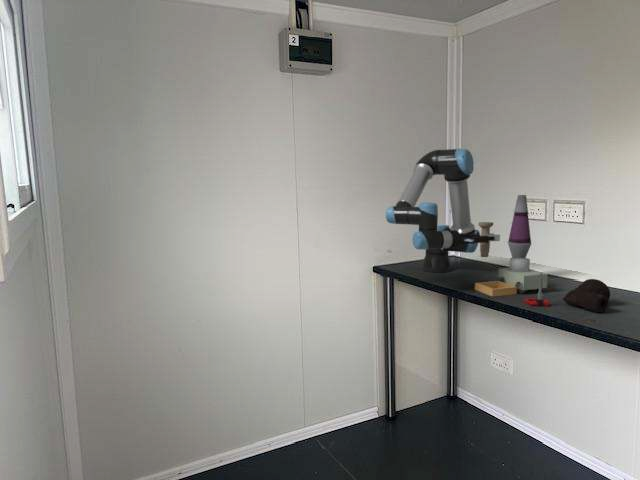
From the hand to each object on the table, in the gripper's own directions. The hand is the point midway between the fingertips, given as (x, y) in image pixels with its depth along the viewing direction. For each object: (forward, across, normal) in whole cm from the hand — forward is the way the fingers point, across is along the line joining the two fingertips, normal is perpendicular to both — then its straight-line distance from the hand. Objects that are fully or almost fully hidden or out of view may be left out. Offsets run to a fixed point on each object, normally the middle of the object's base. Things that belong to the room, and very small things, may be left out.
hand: (496, 237), depth 202 cm
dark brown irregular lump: (+17, +35, -23) cm, 45 cm away
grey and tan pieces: (+3, +6, -23) cm, 24 cm away
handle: (-5, 0, -9) cm, 10 cm away
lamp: (+20, -10, -23) cm, 32 cm away
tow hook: (+1, +25, -23) cm, 34 cm away
